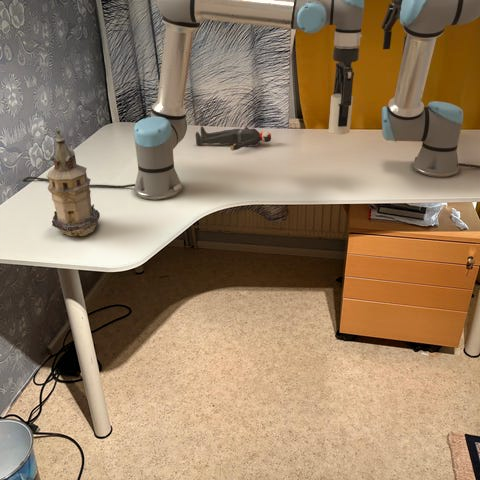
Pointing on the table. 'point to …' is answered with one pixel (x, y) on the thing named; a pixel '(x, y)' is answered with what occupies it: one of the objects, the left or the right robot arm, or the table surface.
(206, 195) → the table surface
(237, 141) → the toy
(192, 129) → the table surface
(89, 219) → the miniature building
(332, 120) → the can
